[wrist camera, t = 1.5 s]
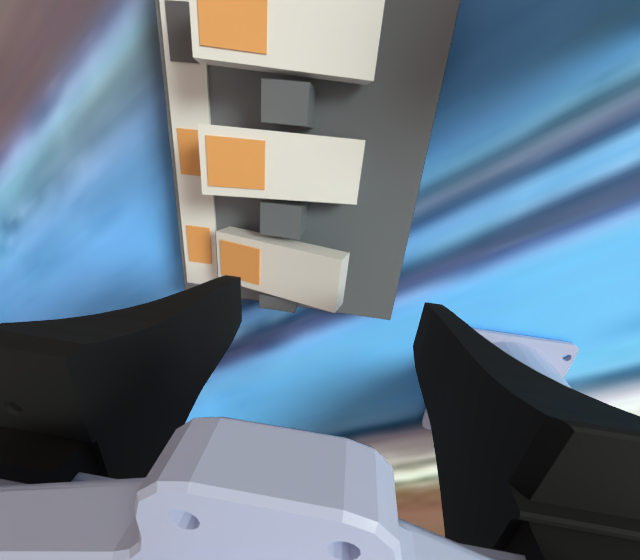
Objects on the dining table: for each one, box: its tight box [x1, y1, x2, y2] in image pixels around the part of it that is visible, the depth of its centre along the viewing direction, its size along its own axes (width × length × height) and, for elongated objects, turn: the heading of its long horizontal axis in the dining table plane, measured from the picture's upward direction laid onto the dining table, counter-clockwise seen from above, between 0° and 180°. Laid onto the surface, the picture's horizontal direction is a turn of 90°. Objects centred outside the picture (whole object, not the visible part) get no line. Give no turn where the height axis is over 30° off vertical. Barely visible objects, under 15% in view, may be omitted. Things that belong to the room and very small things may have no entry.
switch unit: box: [155, 0, 460, 320], centre depth 16 cm, size 16×13×4 cm
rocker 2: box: [216, 226, 350, 313], centre depth 16 cm, size 3×7×1 cm, turn 85°
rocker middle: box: [197, 123, 365, 205], centre depth 14 cm, size 3×7×1 cm, turn 85°
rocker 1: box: [189, 0, 385, 85], centre depth 12 cm, size 3×7×1 cm, turn 85°
